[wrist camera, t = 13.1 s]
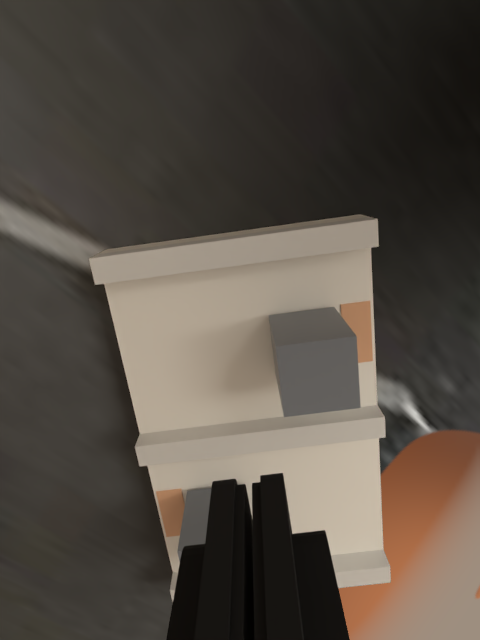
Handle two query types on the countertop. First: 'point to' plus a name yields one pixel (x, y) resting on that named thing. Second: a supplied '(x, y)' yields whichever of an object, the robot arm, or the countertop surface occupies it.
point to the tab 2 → (315, 362)
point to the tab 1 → (194, 518)
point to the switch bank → (251, 376)
